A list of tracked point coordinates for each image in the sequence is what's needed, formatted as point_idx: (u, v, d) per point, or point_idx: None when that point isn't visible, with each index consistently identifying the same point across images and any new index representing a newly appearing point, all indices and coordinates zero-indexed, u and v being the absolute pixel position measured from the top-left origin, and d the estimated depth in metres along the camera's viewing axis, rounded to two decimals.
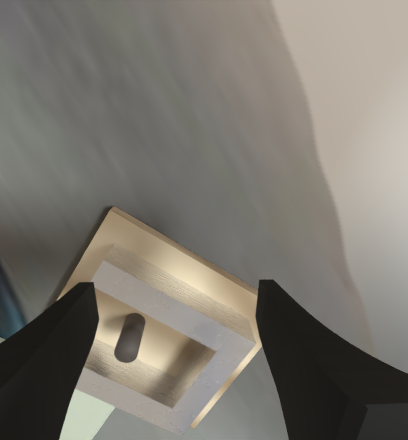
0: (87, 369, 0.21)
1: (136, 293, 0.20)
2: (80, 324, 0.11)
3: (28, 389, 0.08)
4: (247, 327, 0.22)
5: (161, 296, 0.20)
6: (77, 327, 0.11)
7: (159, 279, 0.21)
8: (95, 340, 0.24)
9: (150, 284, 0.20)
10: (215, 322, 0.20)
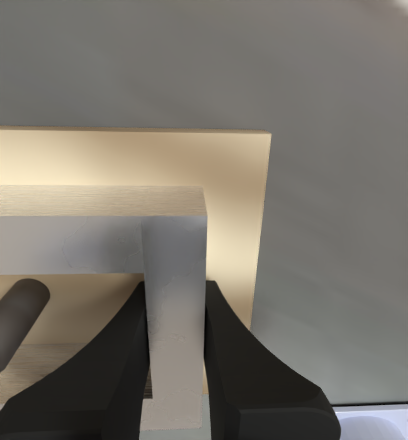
0: None
1: None
2: None
3: (128, 385, 0.08)
4: (191, 198, 0.10)
5: None
6: (147, 325, 0.11)
7: None
8: None
9: None
10: (90, 220, 0.09)
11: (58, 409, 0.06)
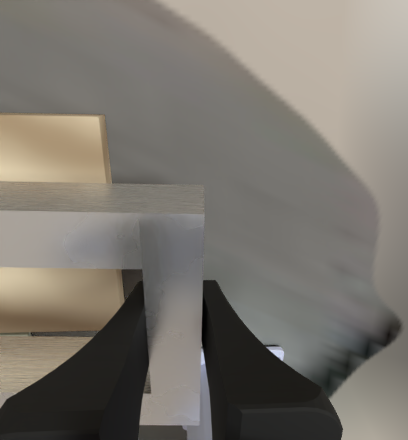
0: None
1: None
2: None
3: (126, 386, 0.08)
4: (191, 197, 0.10)
5: None
6: None
7: None
8: (10, 339, 0.15)
9: None
10: (90, 216, 0.09)
11: (56, 409, 0.06)
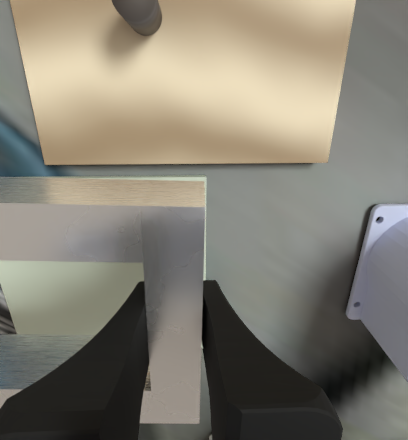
0: None
1: None
2: None
3: (126, 385, 0.08)
4: (191, 191, 0.11)
5: None
6: None
7: None
8: (9, 337, 0.15)
9: None
10: (92, 208, 0.09)
11: (57, 409, 0.06)
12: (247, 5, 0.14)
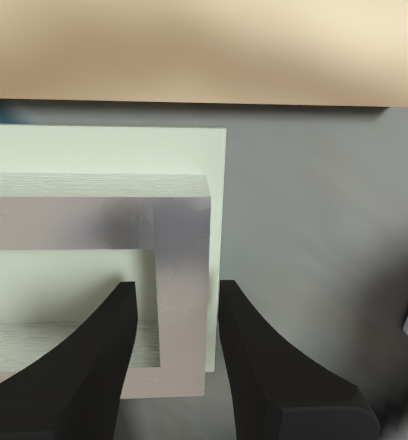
0: None
1: None
2: (127, 323, 0.11)
3: (96, 386, 0.08)
4: (196, 183, 0.12)
5: None
6: (125, 326, 0.11)
7: None
8: (21, 325, 0.15)
9: None
10: (109, 200, 0.10)
11: (14, 412, 0.06)
12: None
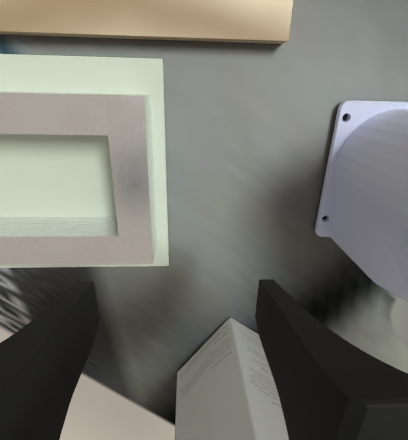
0: (0, 236, 0.18)
1: None
2: (80, 324, 0.11)
3: (28, 389, 0.08)
4: None
5: None
6: (77, 327, 0.11)
7: None
8: (17, 218, 0.20)
9: None
10: (75, 96, 0.15)
11: None
12: None
